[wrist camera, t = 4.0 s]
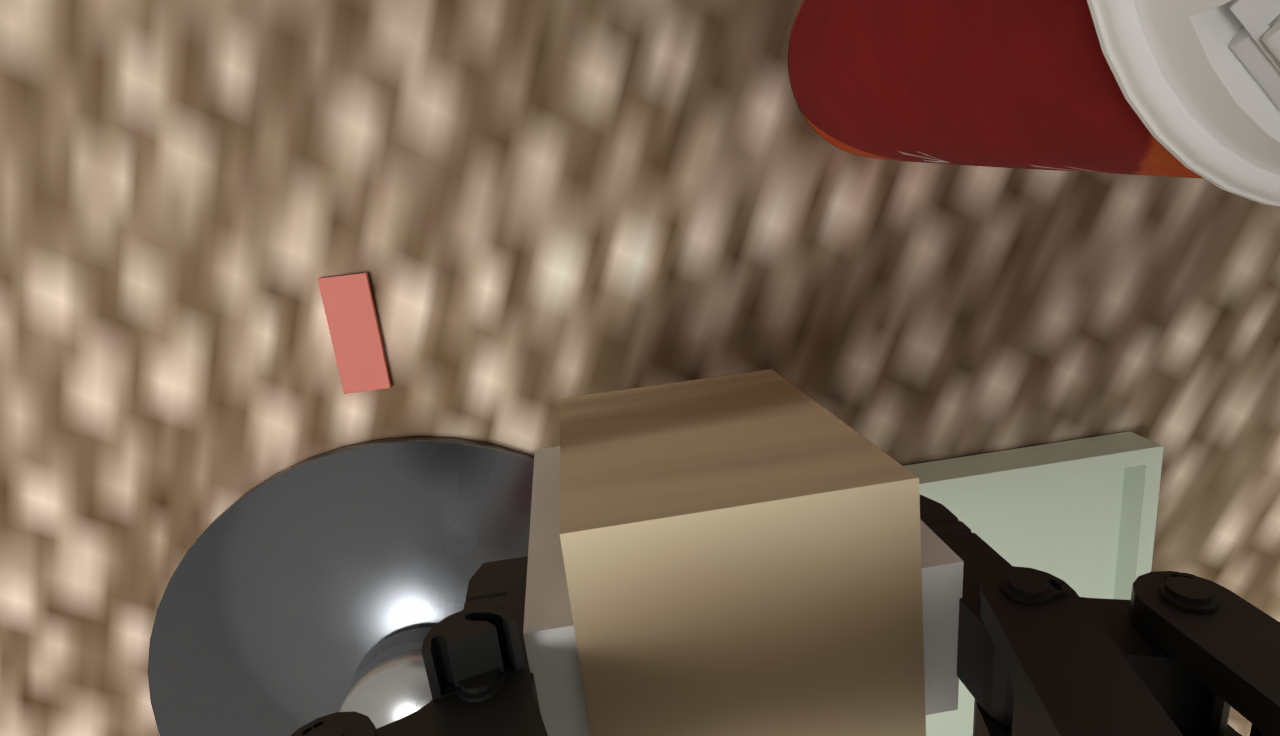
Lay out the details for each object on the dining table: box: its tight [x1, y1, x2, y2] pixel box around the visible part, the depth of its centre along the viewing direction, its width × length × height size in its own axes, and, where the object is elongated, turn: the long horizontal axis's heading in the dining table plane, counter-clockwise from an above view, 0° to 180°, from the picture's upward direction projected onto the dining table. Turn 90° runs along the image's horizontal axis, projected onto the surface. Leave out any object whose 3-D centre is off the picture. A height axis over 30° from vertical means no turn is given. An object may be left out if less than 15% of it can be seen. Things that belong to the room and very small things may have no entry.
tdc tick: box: [318, 272, 391, 394], centre depth 21 cm, size 4×1×1 cm, turn 6°
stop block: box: [560, 369, 926, 736], centre depth 13 cm, size 5×5×7 cm
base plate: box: [148, 436, 534, 736], centre depth 23 cm, size 18×18×4 cm
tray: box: [904, 431, 1164, 736], centre depth 26 cm, size 13×13×2 cm
